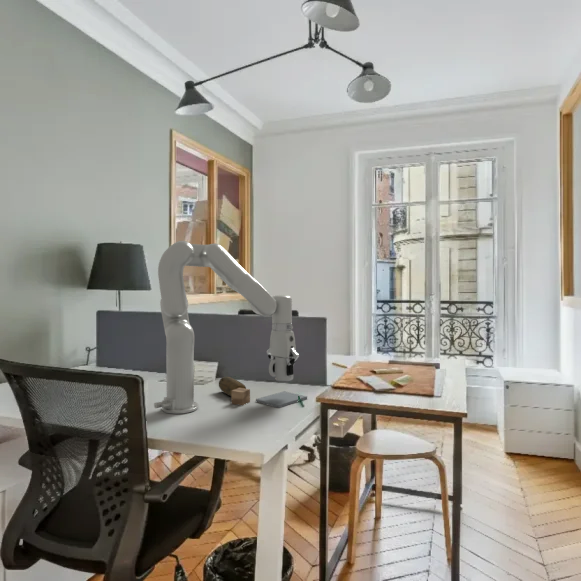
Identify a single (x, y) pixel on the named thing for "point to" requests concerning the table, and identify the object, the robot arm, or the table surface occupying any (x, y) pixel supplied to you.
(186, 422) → the table surface
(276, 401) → the mat
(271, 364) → the cup
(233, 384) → the brown rounded cylinder
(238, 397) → the walnut block
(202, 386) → the table surface
